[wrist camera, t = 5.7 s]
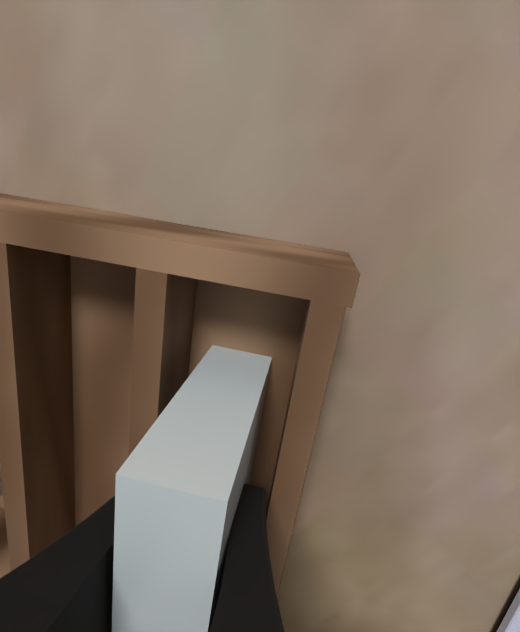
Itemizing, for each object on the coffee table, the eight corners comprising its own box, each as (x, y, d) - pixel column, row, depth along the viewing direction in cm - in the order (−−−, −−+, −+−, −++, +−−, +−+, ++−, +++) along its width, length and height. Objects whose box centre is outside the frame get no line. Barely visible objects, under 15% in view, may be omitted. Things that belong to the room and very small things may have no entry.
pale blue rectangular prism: (272, 357, 12) (227, 501, 6) (243, 521, 14) (190, 738, 8) (212, 344, 12) (115, 473, 6) (193, 508, 14) (109, 712, 9)
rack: (348, 252, 11) (360, 273, 8) (276, 571, 16) (264, 669, 13) (-50, 185, 13) (-179, 178, 9) (-14, 494, 17) (-93, 564, 14)
